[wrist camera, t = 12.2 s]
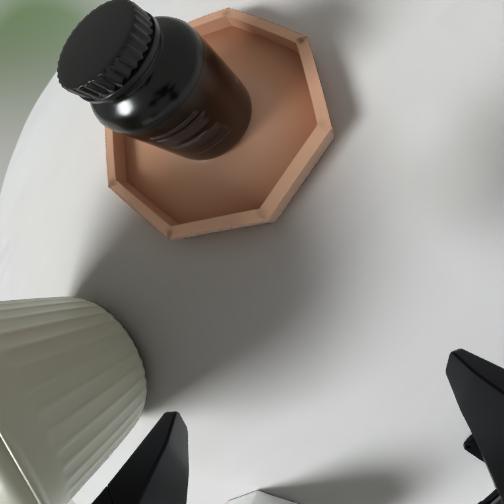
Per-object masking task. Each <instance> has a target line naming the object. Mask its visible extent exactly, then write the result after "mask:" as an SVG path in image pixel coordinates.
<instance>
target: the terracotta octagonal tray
mask: <svg viewBox="0 0 504 504" xmlns="http://www.w3.org/2000/svg"><path fill="white" fill-rule="evenodd" d="M188 24H189V25H190V26H191V27H193V28H194V29H195V30H196V31H197V32H198V33H199V34H200V35H201V36H202V38H203V39H204V40H205V41H206V42H207V43H208V44H209V45H210V46H211V47H212V48H213V50H214V51H215V52H216V53H217V54H218V55H219V56H220V57H221V59H222V60H223V61H224V62H225V63H226V64H227V65H228V67H229V68H230V69H231V70H232V71H233V72H234V73H235V75H236V76H237V77H238V78H239V79H240V81H241V82H242V83H243V85H244V86H245V87H246V89H247V91H248V93H249V95H250V98H251V103H252V115H251V120H250V124H249V126H248V129H247V131H246V133H245V134H244V136H243V137H242V139H241V140H240V141H239V142H238V143H237V144H236V145H235V146H234V147H233V148H232V149H231V150H229V151H228V152H227V153H225V154H223V155H221V156H219V157H216V158H214V159H209V160H201V161H199V160H191V159H187V158H184V157H181V156H178V155H176V154H173V153H171V152H168V151H166V150H163V149H160V148H158V147H155V146H152V145H150V144H147V143H144V142H142V141H139V140H136V139H134V138H131V137H128V136H125V135H123V134H120V133H117V132H115V131H113V130H110V129H109V128H107V127H105V142H106V160H107V174H108V187H109V188H110V189H111V190H113V191H114V192H115V193H116V194H117V195H118V196H119V197H120V198H122V199H123V200H124V201H125V202H126V203H127V204H128V205H130V206H131V207H132V208H133V209H134V210H135V211H136V212H138V213H139V214H140V215H141V216H142V217H143V218H145V219H146V220H147V221H148V222H149V223H150V224H151V225H153V226H154V227H155V228H156V229H157V230H158V231H160V232H161V233H162V234H163V235H164V236H166V237H167V238H168V239H169V240H171V239H182V238H187V237H192V236H197V235H203V234H208V233H214V232H219V231H225V230H230V229H236V228H241V227H247V226H253V225H258V224H264V223H270V222H276V221H277V219H278V218H279V216H280V215H281V214H282V212H283V211H284V209H285V208H286V206H287V205H288V204H289V202H290V201H291V199H292V198H293V196H294V195H295V194H296V192H297V191H298V189H299V188H300V186H301V185H302V183H303V182H304V181H305V179H306V178H307V176H308V175H309V173H310V172H311V171H312V169H313V168H314V166H315V165H316V163H317V162H318V160H319V159H320V158H321V156H322V155H323V153H324V152H325V150H326V149H327V148H328V146H329V145H330V143H331V142H332V140H333V139H334V133H333V128H332V126H331V122H330V118H329V114H328V110H327V106H326V102H325V98H324V94H323V90H322V87H321V83H320V79H319V76H318V72H317V69H316V65H315V62H314V58H313V55H312V51H311V47H310V44H309V40H308V37H307V36H303V35H301V34H299V33H297V32H294V31H292V30H289V29H287V28H284V27H282V26H279V25H277V24H274V23H272V22H269V21H266V20H264V19H261V18H258V17H255V16H252V15H249V14H246V13H243V12H240V11H237V10H234V9H231V8H226V9H223V10H220V11H217V12H214V13H212V14H209V15H206V16H203V17H201V18H198V19H195V20H193V21H190V22H188Z"/></svg>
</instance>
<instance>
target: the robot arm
mask: <svg viewBox="0 0 504 504" xmlns="http://www.w3.org/2000/svg"><path fill="white" fill-rule="evenodd" d="M446 375H447V378H448V380H449V382H450V385H451V387H452V390H453V392H454V395H455V398H456V400H457V403H458V405H459V408H460V410H461V412H462V414H463V416H464V418H465V420H466V422H467V424H468V426H469V428H470V430H471V432H472V435H471V436H470V437H469V438H468V439H467V440H466V441H465V442H464V444H463V446H464V448H465V450H467V451H468V452H470V453H471V454H473V455H474V456H476V457H477V458H479V459H480V460H482V461H483V462H485V464H486V466H487V468H488V471H489V473H490V475H491V478H492V480H493V483H494V485H495V488H496V489H495V490H494V491H493V492H492V493H491V494H490V495H489V496H487V497H486V498H485V499H484V500H483V501H480V502H479V503H478V504H504V369H503V368H501V367H499V366H497V365H495V364H493V363H491V362H489V361H487V360H485V359H483V358H480V357H478V356H476V355H474V354H472V353H470V352H468V351H466V350H464V349H457V350H455V351H452V352H451V353H450V355H449V359H448V363H447V367H446ZM470 443H471V444H470ZM468 444H470V445H468ZM188 478H189V458H188V431H187V427H186V425H185V423H184V421H183V419H182V417H181V416H180V414H179V413H178V412H176V411H175V412H166V413H164V414H163V416H162V417H161V418H160V420H159V421H158V422H157V423H156V425H155V426H154V427H153V429H152V430H151V431H150V432H149V434H148V435H147V436H146V438H145V439H144V440H143V441H142V443H141V444H140V445H139V446H138V448H137V449H136V450H135V451H134V453H133V454H132V455H131V456H130V458H129V459H128V460H127V461H126V463H125V464H124V465H123V466H122V468H121V469H120V470H119V471H118V473H117V474H116V475H115V476H114V478H113V479H112V480H111V481H110V483H109V484H108V487H107V486H106V487H105V489H104V490H103V491H102V492H101V493H100V495H99V496H98V497H97V498H96V499H95V500H94V501H93V503H92V504H186V501H187V489H188Z"/></svg>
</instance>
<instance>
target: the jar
mask: <svg viewBox="0 0 504 504" xmlns="http://www.w3.org/2000/svg"><path fill="white" fill-rule="evenodd" d="M225 504H298V503H294V502H291V501H288V500H285V499H282V498H278V497H275V496H273V495H270V494H267V493H264V492H261V491H255V492H252V493H249V494H247V495H244V496H241V497H238V498H235V499H232V500H229V501H227V502H226V503H225Z"/></svg>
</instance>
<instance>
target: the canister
mask: <svg viewBox="0 0 504 504" xmlns="http://www.w3.org/2000/svg"><path fill="white" fill-rule="evenodd" d="M146 385H147V380H146V378H145V369H144V368H143V364H142V359H141V358H140V356H139V353H138V349H136V347H135V345H134V343H133V340H132V339H131V338H130V337H129V335H128V333H127V331H126V330H125V329H124V328H123V327H122V325H121V323H120V322H119V321H117V320H116V319H115V318H114V316H113V315H112V314H110V313H108V312H107V311H106V310H105V309H104V308H102V307H100V306H98V305H97V304H95V303H93V302H90V301H87V300H85V299H81V298H74V297H52V298H35V299H22V300H10V301H0V504H67V503H68V501H70V499H71V498H72V497H73V496H74V495H75V494H76V493H77V492H78V491H79V490H80V489H81V487H82V486H83V485H84V484H85V483H86V482H87V481H88V480H89V479H90V477H91V476H92V475H93V474H94V473H95V472H96V471H97V470H98V469H99V468H100V467H101V465H102V464H103V463H104V462H105V461H106V460H107V459H108V457H109V456H110V455H111V454H112V453H113V452H114V450H115V449H116V448H117V447H118V446H119V444H120V443H121V442H122V441H123V440H124V438H125V437H126V436H127V435H128V433H129V432H130V431H131V430H132V428H133V427H134V426H135V424H136V422H137V421H138V420H139V418H140V416H141V414H142V412H143V408H144V406H145V403H146V395H147V388H146Z"/></svg>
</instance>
